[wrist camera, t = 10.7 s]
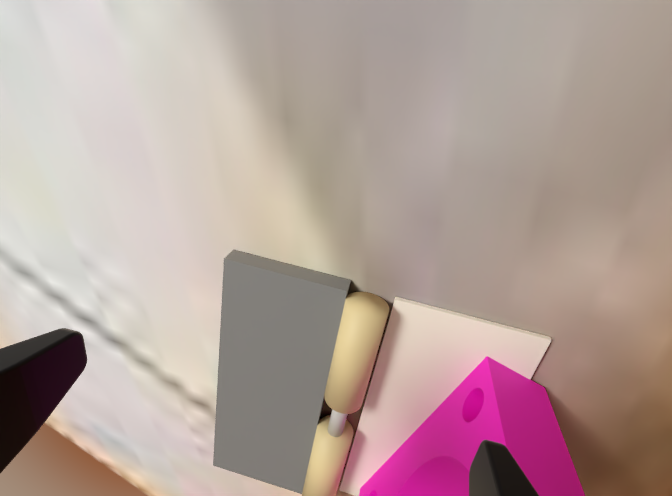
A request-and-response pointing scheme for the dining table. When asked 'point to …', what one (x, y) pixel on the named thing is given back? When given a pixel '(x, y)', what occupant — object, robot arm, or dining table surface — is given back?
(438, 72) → the dining table surface
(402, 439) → the leaf pad
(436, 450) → the toy block
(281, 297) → the hinge leaf
